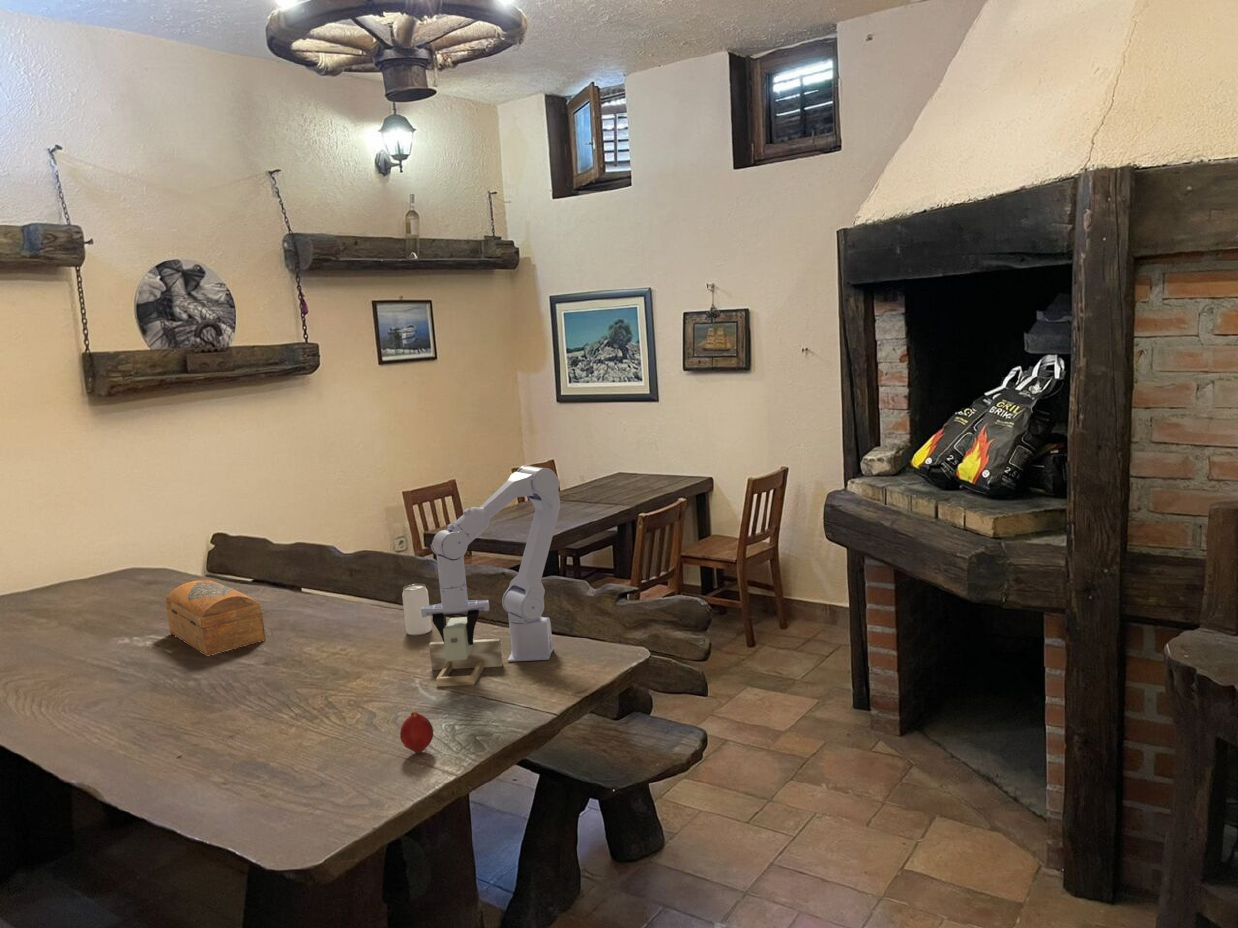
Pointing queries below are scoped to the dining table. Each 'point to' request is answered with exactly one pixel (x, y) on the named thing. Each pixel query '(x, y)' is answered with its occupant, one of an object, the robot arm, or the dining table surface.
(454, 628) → the cabinet block
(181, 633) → the wooden box
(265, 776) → the dining table surface
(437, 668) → the wall board
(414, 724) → the onion
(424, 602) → the can
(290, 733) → the dining table surface
